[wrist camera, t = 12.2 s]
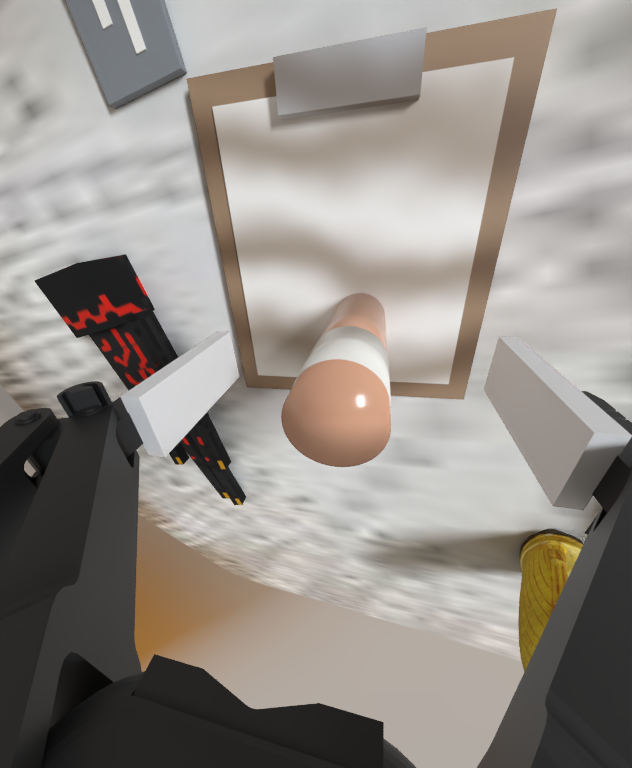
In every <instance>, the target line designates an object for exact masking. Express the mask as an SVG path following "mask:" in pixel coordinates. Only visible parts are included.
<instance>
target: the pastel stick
mask: <svg viewBox="0 0 632 768" xmlns="http://www.w3.org/2000/svg"><path fill="white" fill-rule="evenodd" d="M390 410H391V393H390V376H389V360H388V354H387V339H386V319H385V311H384V308H383V306H382V304H381V303H380V302H379V301H378V300H377V299H376V298H375V297H373V296H371V295H369V294H365V293H356V294H352V295H349V296H347V297H346V298H344V299H343V300H342V301H341V302H340V304H339V305H338V307H337V308H336V310H335V312H334V314H333V316H332V317H331V319H330V321H329V323H328V325H327V327H326V328H325V330H324V332H323V334H322V336H321V337H320V339H319V340H318V341H317V343H316V344H315V346H314V348H313V350H312V351H311V353H310V355H309V357H308V359H307V360H306V362H305V364H304V366H303V367H302V369H301V371H300V373H299V375H298V376H297V378H296V380H295V382H294V384H293V388H292V390H291V391H290V393H289V395H288V397H287V399H286V401H285V403H284V405H283V409H282V415H281V418H282V426H283V429H284V432H285V434H286V436H287V438H288V439H289V441H290V442H291V444H292V445H293V446H294V447H295V448H296V449H297V450H298V451H299V452H301V453H302V454H303V455H305V456H306V457H308V458H310V459H312V460H314V461H316V462H318V463H321V464H325V465H329V466H335V467H350V466H356V465H360V464H363V463H366V462H368V461H370V460H372V459H373V458H375V457H376V456H377V455H378V454H379V453H381V451H382V450H383V449H384V448H385V446H386V444H387V443H388V440H389V437H390V432H391V419H390Z"/></svg>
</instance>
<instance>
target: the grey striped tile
mask: <svg viewBox="0 0 632 768" xmlns="http://www.w3.org/2000/svg"><path fill="white" fill-rule="evenodd" d="M65 1H66V4H67V6H68V8H69V11H70V13H71V16H72V18H73V20H74V23H75V25H76V28H77V30H78V32H79V35H80V37H81V40H82V42H83V44H84V47H85V49H86V52H87V54H88V56H89V59H90V61H91V64H92V66H93V68H94V71H95V73H96V76H97V78H98V80H99V83H100V85H101V88H102V90H103V92H104V95H105V97H106V100H107V102H108V104H109V105H110V106H112V107H114V108H118V107H120V106H122V105H124V104H126V103H128V102H130V101H132V100H134V99H136V98H138V97H140V96H142V95H144V94H145V93H147V92H149V91H151V90H153V89H155V88H157V87H159V86H161V85H163V84H165V83H167V82H169V81H171V80H173V79H175V78H177V77H179V76H181V75H183V74H185V73H187V72H186V69H185V66H184V62H183V59H182V56H181V53H180V50H179V46H178V43H177V40H176V37H175V34H174V30H173V27H172V24H171V21H170V17H169V14H168V11H167V8H166V5H165V1H164V0H65Z"/></svg>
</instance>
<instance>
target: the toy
mask: <svg viewBox="0 0 632 768" xmlns="http://www.w3.org/2000/svg"><path fill="white" fill-rule="evenodd" d="M35 282H36V284H37V285H38V286H39V288H40V289H41V290H42V292H43V293H44V294H45V296H46V297H47V298H48V300H49V301H50V302H51V304H52V305H53V307H54V308H55V309H56V311H57V312H58V313H59V315H60V316H61V317H62V319H63V320H64V321H65V323H66V324H67V325H68V327H69V328H70V329H71V331H72V332H73V333H74V335H75V336H76V337H77V338H79V337H82V336H85V335H90V337H91V338H92V340H93V341H94V342H95V344H96V345H97V347H98V348H99V349H100V351H101V352H102V354H103V355H104V356H105V358H106V359H107V361H108V362H109V363H110V365H111V366H112V368H113V369H114V370H115V372H116V373H117V375H118V376H119V377H120V379H121V380H122V382H123V383H124V384H125V386H126V387H127V389H128V390H131V389H132V388H134V387H135V386H137V385H138V384H140V383H141V382H143V381H144V380H146V379H147V378H149V377H150V376H152V375H153V374H155V373H156V372H158V371H159V370H160V369H162V368H163V367H165V366H166V365H168V364H169V363H171V362H172V361H174V360H175V359H177V358H178V356H177V354H176V352H175V351H174V349H173V347H172V345H171V343H170V341H169V340H168V338H167V336H166V334H165V332H164V331H163V329H162V327H161V325H160V323H159V321H158V320H157V318H156V316H155V314H154V312H153V310H155V309H154V307H153V305H152V303H151V301H150V299H149V298H148V296H147V294H146V292H145V290H144V288H143V286H142V284H141V282H140V280H139V279H138V277H137V275H136V273H135V271H134V269H133V267H132V265H131V263H130V262H129V260H128V258H127V256H126V255H120V256H115V257H109V258H104V259H98V260H92V261H87V262H81V263H76V264H74V265H71V266H69V267H67V268H64V269H62V270H59V271H57V272H54V273H52V274H50V275H47V276H45V277H42V278H40V279H37V280H35ZM185 450H186V451H185ZM186 452H187V453H188V454H189V456H190V457H191V458H192V459H193V461H194V462H195V463H196V465H197V466H198V467H199V468H200V470H201V471H202V472H203V474H204V475H205V476H206V477H207V479H208V480H209V481H210V483H211V484H212V485H213V486H214V488H215V489H216V490H217V492H218V493H219V494H220V495H221V497H222V498H230V499H231V500H232V502H233V504H234V505H242V504H243V502H244V500H245V498H246V496H245V494H244V492H243V491H242V489H241V487H240V486H239V484H238V482H237V481H236V479H235V477H234V476H233V474H232V472H231V471H230V469H229V467H228V466H229V464H230V463H231V460H230V458H229V456H228V454H227V452H226V450H225V448H224V446H223V444H222V442H221V440H220V438H219V435H218V433H217V431H216V429H215V427H214V425H213V423H212V421H211V419H210V417H209V415H208V413H206V414H205V415H204V416H203V417H202V418H201V419H200V420H199V421H198V422H197V423H196V424H195V426H194V427H193V428H192V429H191V430H190V431H189V432H188V433H187V434H186V435H185V436H184V438H183V439H182V440H181V441H180V442H179V443H178V444H177V445H176V446H175V447H174V448H173V449H172V451H171V452H170V453H169V454H170V456H171V458H172V459H173V461H174V462H175V464H184V463H185V462H186V461H187V460H188V458H189V456H188V454H187V453H186Z"/></svg>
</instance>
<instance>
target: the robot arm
mask: <svg viewBox="0 0 632 768" xmlns="http://www.w3.org/2000/svg"><path fill="white" fill-rule="evenodd" d="M239 377H240V376H239V372H238V367H237V363H236V358H235V354H234V349H233V345H232V340H231V335H230V332H216V333H214V334H213V335H211V336H210V337H208V338H207V339H205V340H204V341H202V342H201V343H199V344H198V345H196V346H195V347H193V348H192V349H190V350H189V351H187V352H186V353H184V354H183V355H181V356H180V357H178V358H177V359H175V360H174V361H172V362H171V363H169V364H168V365H166V366H165V367H163V368H162V369H160V370H159V371H158V372H156V373H155V374H153V375H152V376H150V377H149V378H147V379H146V380H144V381H143V382H141V383H140V384H138V385H137V386H135V387H134V388H132V389H131V390H129V391H128V392H126V393H125V394H123V395H122V396H120V398H118V399H117V400H115V401H114V402H111V400H110V398H109V396H108V394H107V392H106V390H105V388H104V386H103V384H102V383H101V382H87V383H82V384H78V385H75V386H73V387H70V388H68V389H66V390H64V391H62V392H61V393H59V394H58V396H57V398H58V400H59V402H60V403H61V405H62V407H63V408H64V410H65V411H66V413H67V415H68V416H69V417H68V418H61V419H57V418H56V416H55V415H54V413H53V412H52V410H51V409H49V408H39V409H34V410H32V409H31V410H28V411H26V412H22V413H20V414H18V415H17V416H15V417H13V418H12V419H10V420H8V421H7V422H6V423H4V424H3V425H2V426H1V427H0V768H416V767H415V766H414V765H413V764H412V763H411V762H410V761H409V760H408V759H407V758H406V757H405V756H404V755H403V754H402V753H401V752H400V751H399V750H398V749H397V748H395V747H394V746H393V745H391V744H390V743H389V742H387V741H386V740H385V739H384V738H383V722H381V721H377V720H374V719H371V718H367V717H363V716H360V715H357V714H354V713H350V712H347V711H344V710H340V709H337V708H333V707H330V706H326V705H323V704H320V703H317V704H308V705H297V706H287V707H278V708H267V709H252V708H250V707H248V706H247V705H245V704H244V703H243V702H242V701H241V700H239V699H238V698H237V697H236V696H235V695H233V694H232V693H231V692H230V691H229V690H228V689H226V688H225V687H224V686H223V685H222V684H220V683H219V682H218V681H217V680H216V679H214V678H213V677H212V676H211V675H209V673H207V672H206V671H205V670H204V669H202V668H199V667H195V666H191V665H188V664H185V663H182V662H178V661H175V660H172V659H168V658H165V657H162V656H158V655H154V656H153V658H152V660H151V662H150V663H149V666H148V667H147V669H146V671H144V672H141V665H140V661H139V658H138V655H137V651H136V648H135V642H134V625H135V624H134V623H135V590H136V557H137V523H138V489H139V455H138V453H137V451H136V450H137V449H138V448H139V447H140V446H141V445H142V444H143V445H144V447H145V449H146V451H147V453H148V455H150V456H158V457H166V456H167V455H168V454H169V453H170V452H171V451H172V449H173V448H174V447H175V446H176V445H177V444H178V443H179V442H180V441H181V440H182V439H183V438H184V436H185V435H186V434H187V433H188V432H189V431H190V430H191V429H192V428H193V427H194V426H195V424H196V423H197V422H198V421H199V420H200V419H201V418H202V417H203V416H204V415H205V414H206V413H207V411H208V410H209V409H210V408H211V407H212V406H213V405H214V404H215V403H216V402H217V401H218V399H219V398H220V397H221V396H222V395H223V394H224V393H225V392H226V391H227V390H228V389H229V388H230V386H231V385H232V384H233V383H234V382H235V381H236V380H237V379H238V378H239ZM484 391H485V392H486V394H487V396H488V397H489V399H490V401H491V403H492V404H493V406H494V408H495V409H496V411H497V413H498V414H499V416H500V418H501V419H502V421H503V423H504V424H505V426H506V428H507V430H508V431H509V433H510V435H511V436H512V438H513V440H514V441H515V443H516V445H517V446H518V448H519V450H520V452H521V453H522V455H523V457H524V458H525V460H526V462H527V463H528V465H529V467H530V468H531V470H532V472H533V473H534V475H535V477H536V479H537V480H538V482H539V484H540V485H541V487H542V489H543V490H544V492H545V494H546V495H547V497H548V499H549V500H550V502H551V504H552V506H556V507H564V508H572V509H580V510H584V508H585V507H586V505H587V504H588V502H589V501H590V499H591V498H592V496H594V497H595V498H596V500H597V501H598V502H599V503H600V505H601V506H602V507H603V508H602V509H601V511H600V512H599V514H598V515H597V516H596V518H595V519H594V521H593V522H592V524H591V525H590V526H589V528H588V529H587V531H586V532H585V533H586V534H588V536H587V538H586V540H585V543H584V545H583V547H582V549H581V551H580V553H579V556H578V558H577V560H576V562H575V564H574V566H573V569H572V571H571V573H570V575H569V577H568V579H567V582H566V584H565V586H564V588H563V590H562V592H561V594H560V597H559V599H558V601H557V603H556V605H555V607H554V610H553V612H552V614H551V616H550V618H549V620H548V623H547V625H546V627H545V629H544V631H543V633H542V636H541V638H540V640H539V642H538V644H537V646H536V649H535V651H534V653H533V655H532V657H531V659H530V661H529V664H528V666H527V668H526V670H525V672H524V675H523V677H522V679H521V681H520V683H519V685H518V688H517V690H516V692H515V694H514V696H513V698H512V700H511V703H510V705H509V707H508V709H507V711H506V713H505V716H504V718H503V720H502V722H501V724H500V726H499V728H498V731H497V733H496V735H495V737H494V739H493V741H492V743H491V745H490V747H489V749H488V751H487V752H486V754H485V756H484V757H483V759H482V760H481V762H480V763H479V765H478V767H477V768H632V423H631V422H630V421H629V420H626V418H625V417H624V416H623V415H621V414H620V413H619V412H616V410H615V409H614V408H613V407H612V406H610V405H609V404H608V403H607V402H605V401H604V400H603V399H601V398H599V397H597V396H595V395H593V394H591V393H589V392H586V391H580V390H579V389H578V388H577V387H576V386H574V385H573V384H572V383H571V382H570V381H569V380H567V379H566V378H565V377H564V376H563V375H562V374H561V373H559V372H558V371H557V370H556V369H555V368H554V367H552V366H551V365H550V364H549V363H548V362H547V361H546V360H544V359H543V358H542V357H541V356H540V355H539V354H537V353H536V352H535V351H534V350H533V349H532V348H531V347H529V346H528V345H527V344H526V343H525V342H524V341H522V340H521V339H520V338H519V337H499V338H498V342H497V345H496V349H495V352H494V356H493V359H492V363H491V366H490V370H489V373H488V377H487V380H486V384H485V387H484ZM26 460H28V462H29V463H30V464H31V466H32V467H33V468H34V469H35V471H36V472H35V473H34V474H33V476H32V477H30V476H29V475H27V473H26V472H25V471H24V464H25V462H26Z"/></svg>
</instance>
